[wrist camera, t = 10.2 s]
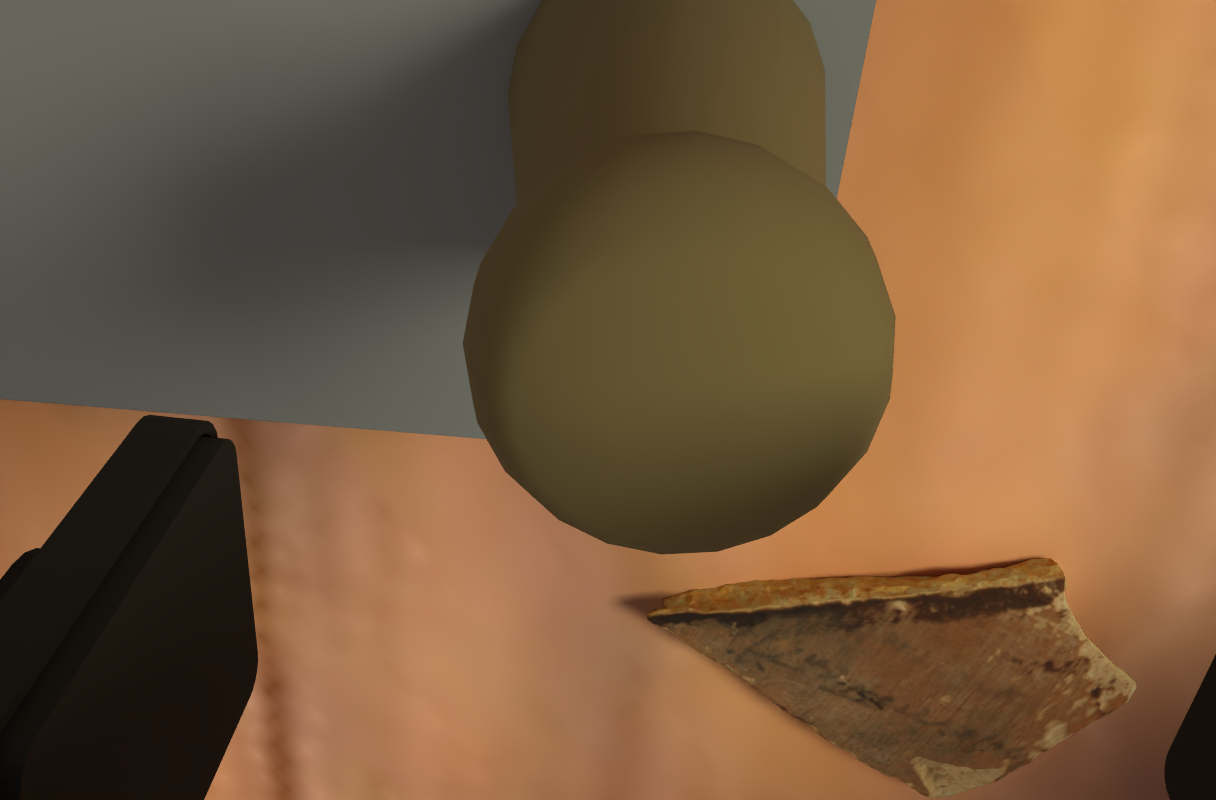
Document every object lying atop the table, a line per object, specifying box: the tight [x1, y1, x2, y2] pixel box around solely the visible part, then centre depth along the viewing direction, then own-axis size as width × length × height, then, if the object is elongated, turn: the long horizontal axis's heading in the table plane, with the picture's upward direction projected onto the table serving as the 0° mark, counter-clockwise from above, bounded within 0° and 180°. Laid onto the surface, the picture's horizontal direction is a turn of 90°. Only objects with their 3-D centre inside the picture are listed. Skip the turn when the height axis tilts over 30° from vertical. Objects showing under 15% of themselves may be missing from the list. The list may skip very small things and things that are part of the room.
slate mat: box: [0, 0, 876, 439], centre depth 22 cm, size 20×16×1 cm
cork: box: [463, 0, 895, 554], centre depth 17 cm, size 6×6×11 cm
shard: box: [647, 558, 1137, 798], centre depth 29 cm, size 11×8×2 cm
